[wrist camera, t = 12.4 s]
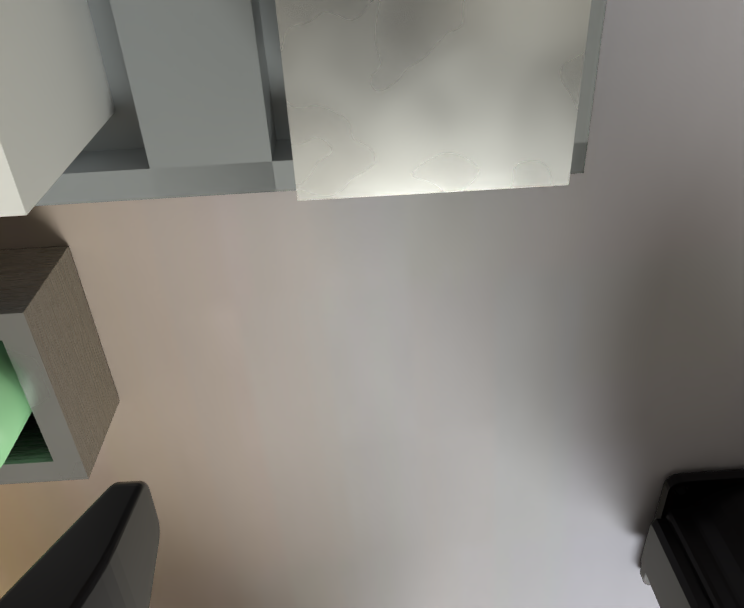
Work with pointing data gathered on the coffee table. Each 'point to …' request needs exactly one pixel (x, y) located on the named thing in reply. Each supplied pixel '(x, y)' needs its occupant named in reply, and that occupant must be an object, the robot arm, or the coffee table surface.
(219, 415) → the coffee table surface
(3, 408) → the button
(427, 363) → the coffee table surface
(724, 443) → the coffee table surface
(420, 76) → the block
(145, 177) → the pallet
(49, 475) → the switch box
